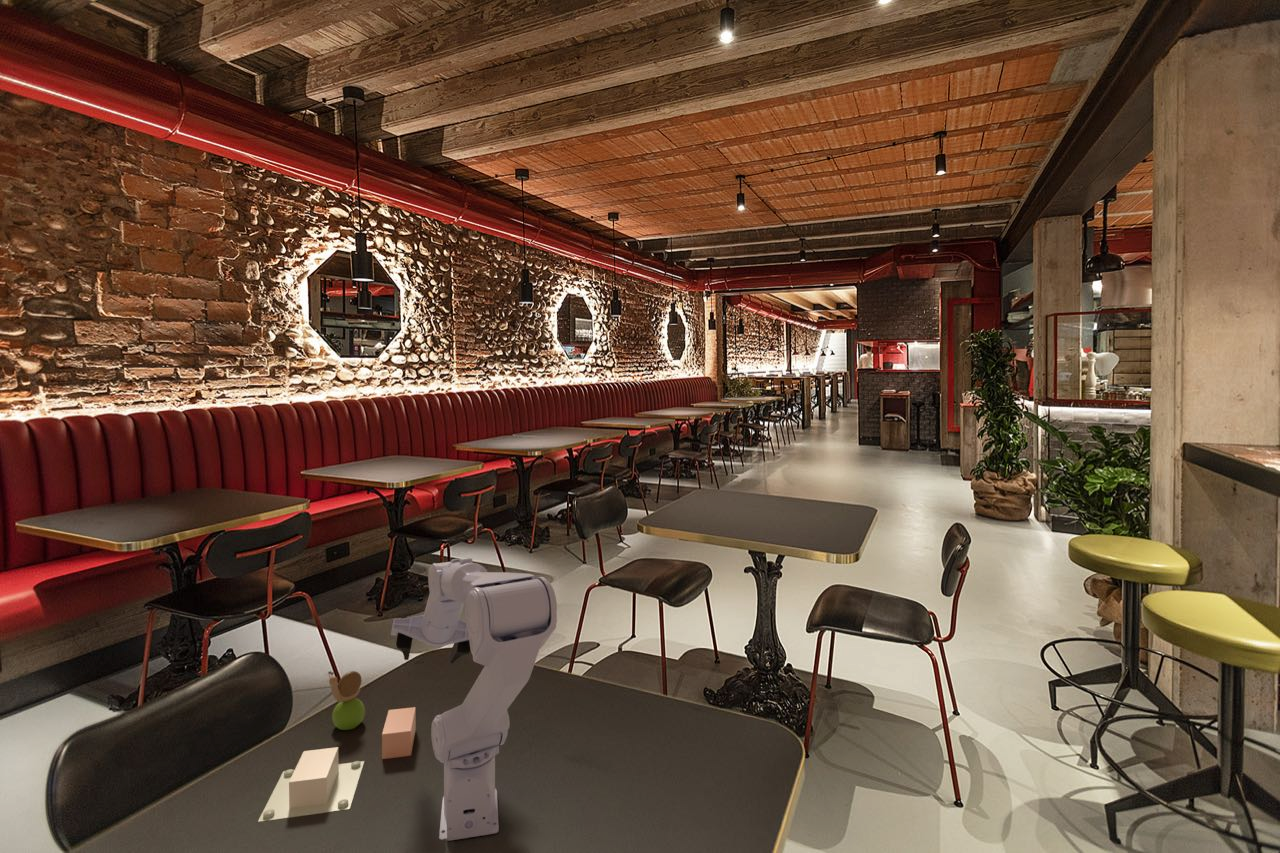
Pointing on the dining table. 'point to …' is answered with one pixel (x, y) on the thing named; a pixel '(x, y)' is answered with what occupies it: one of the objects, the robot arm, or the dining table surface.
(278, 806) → the baseplate
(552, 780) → the dining table surface
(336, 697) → the snail figurine
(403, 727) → the top brick
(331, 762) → the bottom brick
